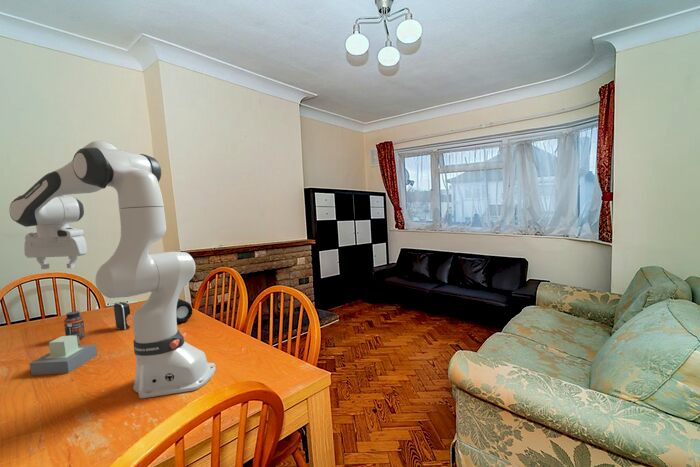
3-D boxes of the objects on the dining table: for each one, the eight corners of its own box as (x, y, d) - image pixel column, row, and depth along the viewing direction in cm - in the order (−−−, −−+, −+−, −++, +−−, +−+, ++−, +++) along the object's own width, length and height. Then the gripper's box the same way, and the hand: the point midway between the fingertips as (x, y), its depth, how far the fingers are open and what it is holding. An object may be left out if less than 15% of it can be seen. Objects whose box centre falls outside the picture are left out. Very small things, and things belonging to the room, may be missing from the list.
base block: (97, 355, 114) (95, 344, 113) (68, 372, 102) (67, 360, 102) (63, 356, 114) (62, 345, 113) (31, 374, 102) (29, 362, 101)
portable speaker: (195, 320, 146) (193, 299, 145) (172, 327, 139) (170, 305, 138) (172, 309, 162) (170, 291, 161) (151, 315, 155) (149, 296, 154)
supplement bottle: (74, 342, 126) (70, 315, 125) (62, 341, 127) (58, 314, 126) (89, 336, 132) (85, 310, 130) (77, 335, 133) (74, 309, 132)
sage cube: (78, 349, 110) (76, 335, 109) (65, 355, 105) (64, 341, 104) (63, 349, 110) (62, 336, 109) (50, 356, 105) (48, 342, 104)
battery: (133, 327, 139) (130, 302, 138) (123, 330, 136) (120, 305, 135) (125, 324, 143) (122, 300, 142) (115, 327, 140) (112, 303, 139)
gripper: (16, 233, 112) (21, 271, 114) (73, 232, 113) (78, 269, 114) (33, 232, 119) (38, 267, 120) (88, 230, 119) (92, 265, 121)
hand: (58, 268), depth 117 cm, fingers open, 8 cm apart
